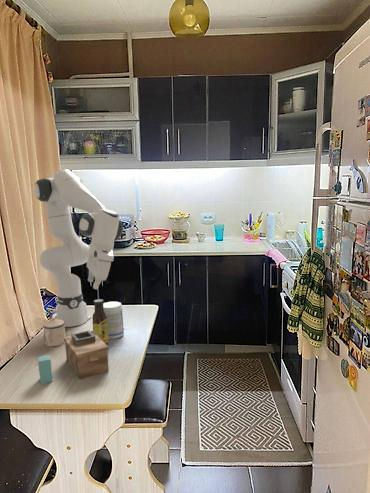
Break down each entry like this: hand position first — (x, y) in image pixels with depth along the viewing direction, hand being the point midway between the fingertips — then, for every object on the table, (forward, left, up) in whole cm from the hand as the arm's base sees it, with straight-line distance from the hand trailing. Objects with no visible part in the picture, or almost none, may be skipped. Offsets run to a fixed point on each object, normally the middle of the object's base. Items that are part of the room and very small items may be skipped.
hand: (92, 284), depth 162 cm
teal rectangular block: (+8, -22, -30) cm, 38 cm away
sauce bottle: (-10, +5, -30) cm, 32 cm away
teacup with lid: (-23, -12, -30) cm, 40 cm away
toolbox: (+5, -6, -30) cm, 31 cm away
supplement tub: (-17, +13, -30) cm, 37 cm away
